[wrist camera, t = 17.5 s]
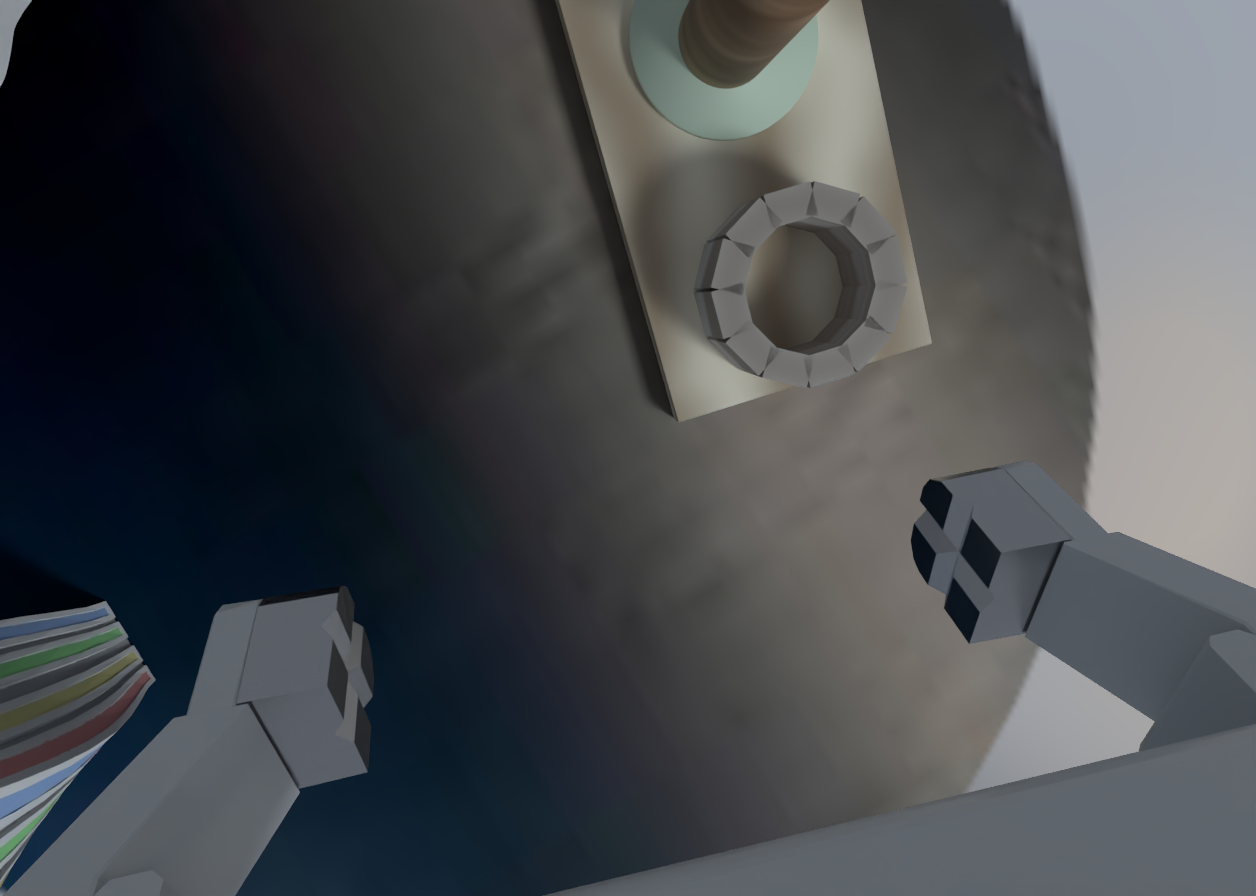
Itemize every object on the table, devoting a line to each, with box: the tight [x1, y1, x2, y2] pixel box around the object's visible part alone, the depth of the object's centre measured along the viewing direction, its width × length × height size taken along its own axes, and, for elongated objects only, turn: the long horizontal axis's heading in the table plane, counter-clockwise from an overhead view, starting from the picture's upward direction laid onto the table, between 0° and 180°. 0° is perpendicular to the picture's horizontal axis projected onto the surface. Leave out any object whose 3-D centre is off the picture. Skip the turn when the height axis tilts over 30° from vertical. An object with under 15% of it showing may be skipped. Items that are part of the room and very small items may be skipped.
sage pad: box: [629, 0, 818, 141], centre depth 37 cm, size 9×9×1 cm
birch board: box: [555, 0, 932, 422], centre depth 37 cm, size 14×22×6 cm, turn 16°
